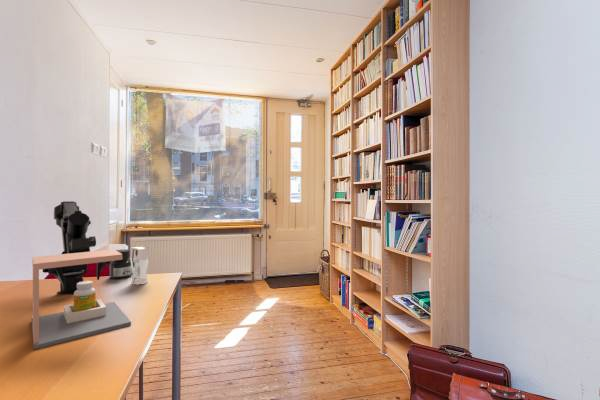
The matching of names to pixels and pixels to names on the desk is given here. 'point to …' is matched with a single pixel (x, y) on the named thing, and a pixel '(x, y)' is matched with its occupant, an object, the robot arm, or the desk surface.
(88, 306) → the supplement bottle
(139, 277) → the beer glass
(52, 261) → the awning socket
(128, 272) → the ink bottle
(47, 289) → the desk surface
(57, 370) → the desk surface
